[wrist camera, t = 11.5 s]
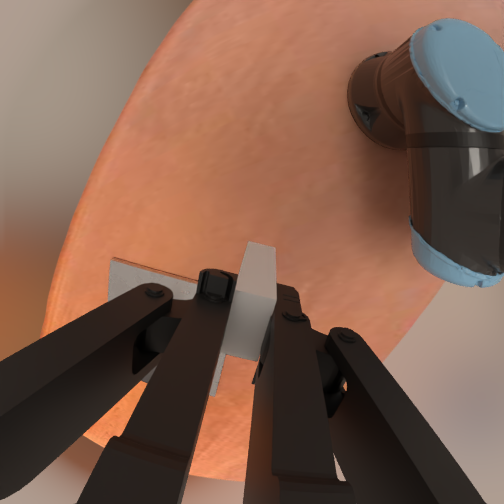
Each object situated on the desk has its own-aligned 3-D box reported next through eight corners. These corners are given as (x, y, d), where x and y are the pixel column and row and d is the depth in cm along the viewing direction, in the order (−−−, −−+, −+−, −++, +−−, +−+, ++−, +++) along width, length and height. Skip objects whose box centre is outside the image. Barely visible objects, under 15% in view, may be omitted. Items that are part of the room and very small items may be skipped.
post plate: (241, 292, 50) (237, 309, 44) (215, 392, 56) (210, 413, 50) (113, 257, 49) (96, 269, 44) (109, 359, 56) (96, 377, 50)
